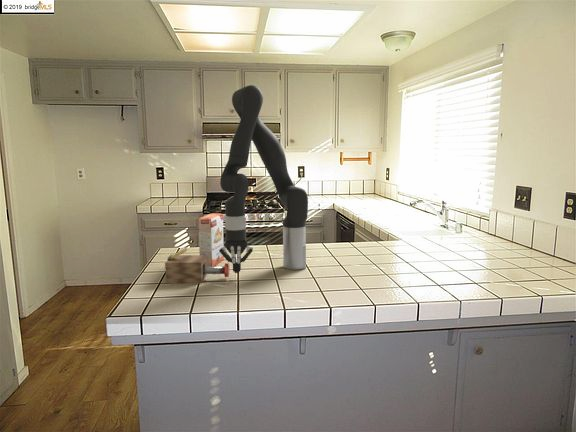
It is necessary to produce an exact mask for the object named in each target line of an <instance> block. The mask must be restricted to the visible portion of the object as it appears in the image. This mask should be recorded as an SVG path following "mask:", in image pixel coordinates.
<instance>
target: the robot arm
mask: <svg viewBox="0 0 576 432" xmlns="http://www.w3.org/2000/svg"><path fill="white" fill-rule="evenodd" d="M263 103H264V95H263V92H262V91H261V89H260V88H259V87H258V86H256V85H253V84H251V85H246V86H243V87H241V88H239V89H237V90H235V91H234V92H233V93H232V96H231V104H232V107H233V109H234V111H235V112H236V114H237V116H238V117H239V119H240V120H239V123H238V126H237V129H236V131H235V133H234V134H233V137H232V140H231V143H230V148H229V154H228V160H227V163H226V164H225V167H224V169H223V170H222V174H221V176H220V180H219V183H220V188H221V190H222V191H223V192H225V193H233V197H232V198H230V199H227V200H225V201H226V202H225V220H224V221H225V222H224V228H225V230H224V231H225V241H224V242H225V243H224V247H222V248H220V250H219V252H220V253H221V254H222V255H223V256H224V259H225V260H226V262H227V263H231V264H232V272H234V273H235V274H239V273H240V272H241V270H242V265H241V263H244V262H246V260H247V259H248V257H250V255H251V254H252V253H253V250H254V248H253V247H252V246H249V245H248V242H247V229H246V228H247V227H246V226H247V223H246V214H245V213H246V211H245V210H246V208H245V205H246V204H245V203H246V200H247V196H248V192H249V187H250V182H249V179H248V177H247V175H245V174H244V173H238V172H239V171H240V170H241V169H245V168H247V165H248V161H249V155H250V149H251V144H252V143H253V144H254V147H255V149H256V151H257V153H258V155H259V158H260V160H261V162H262V164H263V165H264V166H265V169H266V170H267V172H268V175H269V176H270V178H271V180H272V182H273V185H274V188H275V191H276V193H277V196H278V198H279V201H280V203H281V204H282V206H283V207H284V208H286V216H285V218H283V219H282V244H283V245H282V250H283V251H282V254H283V256H282V259H283V260H282V261H283V263H282V264H283V269H287V270H301V269H302V270H303V269H306V268H307V245H306V240H307V239H306V238H307V237H306V225H307V224H306V223H307V221H308V220H307V219H308V215H309V214H308V213H309V210H308V209H309V195H308V194H307V191H306V190H305V189H303V188H302V187H299V186H295V184H294V183H293V180H292V179H291V177H290V174H289V172H288V167H287V165H288V164H287V157H286V153H285V151H284V149H283V147H282V145H281V142H280V140H279V139H278V136H276V135H275V134H274V133H273V131H272V130H270V129H269V128H268V127H267V126H266V124H265V123H264V122H263V121H262V120H261V118H260V116H259V114H260V111H261V110H262V106H263ZM244 252H246V253H245V254H244V255H243V256H242V254H243V253H244ZM229 254H230V255H231V256H230V255H229Z"/></svg>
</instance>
